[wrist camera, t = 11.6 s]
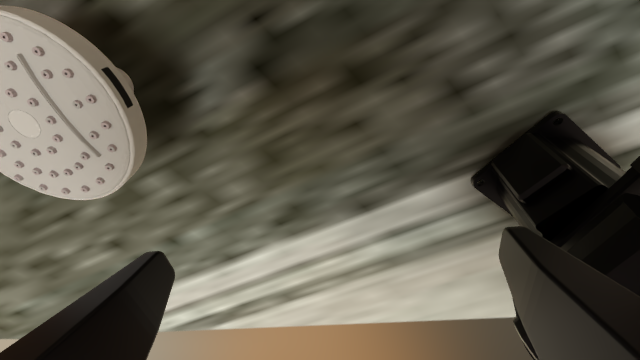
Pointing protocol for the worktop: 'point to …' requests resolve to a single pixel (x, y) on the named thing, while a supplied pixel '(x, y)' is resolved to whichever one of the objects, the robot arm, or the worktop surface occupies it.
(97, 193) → the showerhead
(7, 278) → the worktop surface
